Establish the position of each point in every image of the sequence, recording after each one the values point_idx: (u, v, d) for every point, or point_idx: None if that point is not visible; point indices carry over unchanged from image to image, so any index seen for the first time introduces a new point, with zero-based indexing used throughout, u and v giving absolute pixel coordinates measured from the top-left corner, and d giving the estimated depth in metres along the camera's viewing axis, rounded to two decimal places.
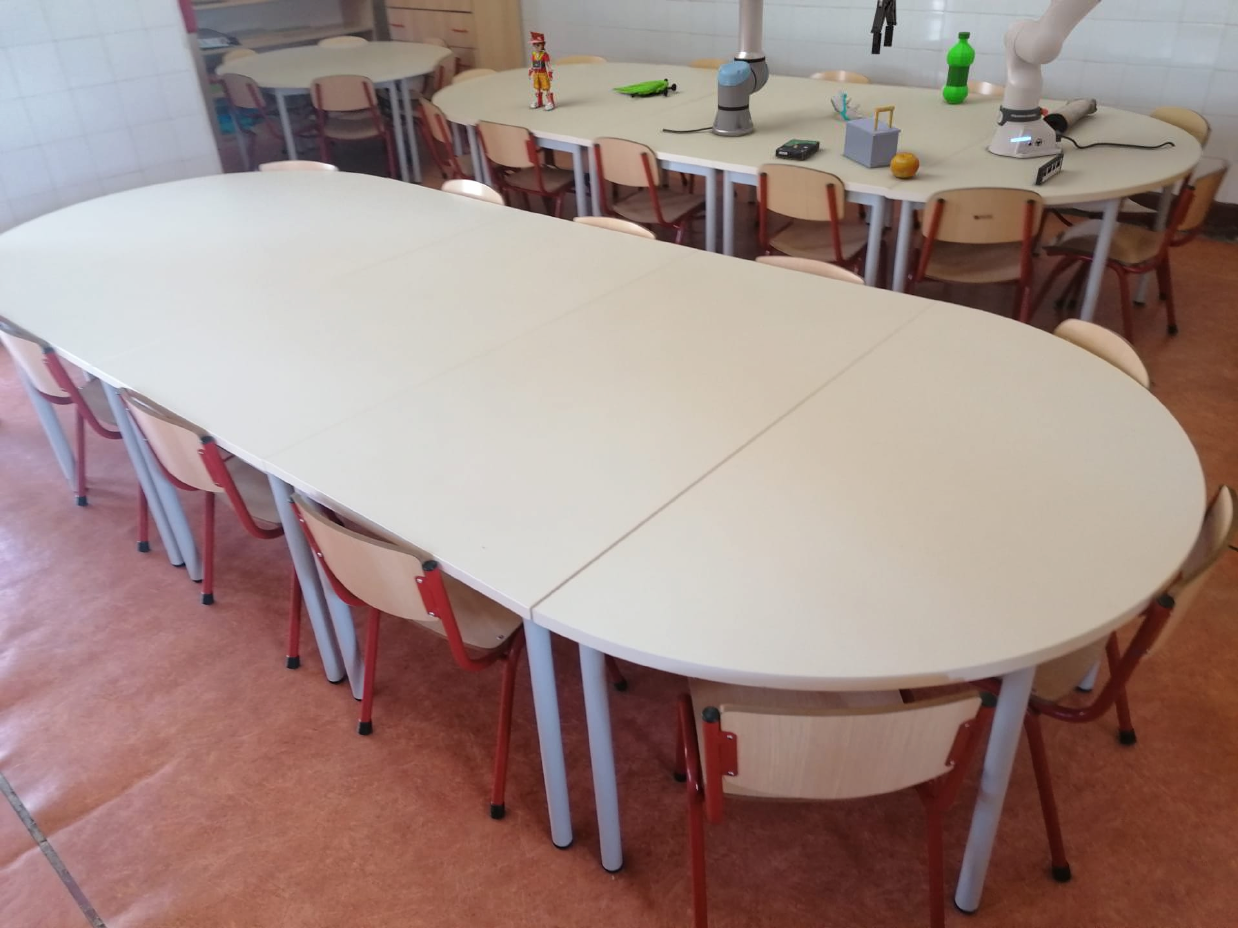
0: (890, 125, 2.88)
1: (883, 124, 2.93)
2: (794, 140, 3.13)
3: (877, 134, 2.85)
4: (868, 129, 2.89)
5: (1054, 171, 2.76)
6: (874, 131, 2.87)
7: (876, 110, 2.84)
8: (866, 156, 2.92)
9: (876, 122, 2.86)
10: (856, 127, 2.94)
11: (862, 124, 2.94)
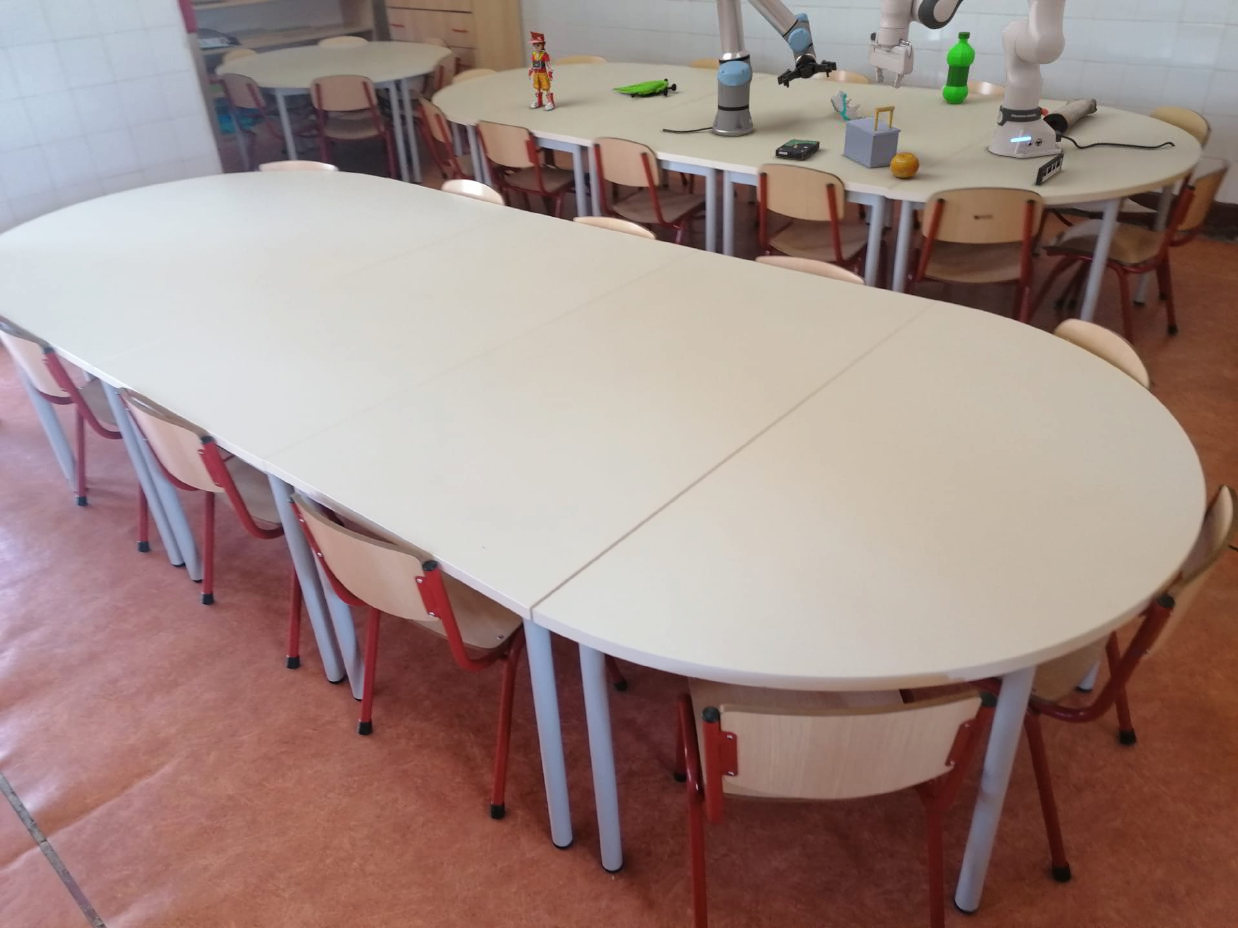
0: (890, 125, 2.88)
1: (883, 124, 2.93)
2: (794, 140, 3.13)
3: (877, 134, 2.85)
4: (868, 129, 2.89)
5: (1054, 171, 2.76)
6: (874, 131, 2.87)
7: (876, 110, 2.84)
8: (866, 156, 2.92)
9: (876, 122, 2.86)
10: (856, 127, 2.94)
11: (862, 124, 2.94)
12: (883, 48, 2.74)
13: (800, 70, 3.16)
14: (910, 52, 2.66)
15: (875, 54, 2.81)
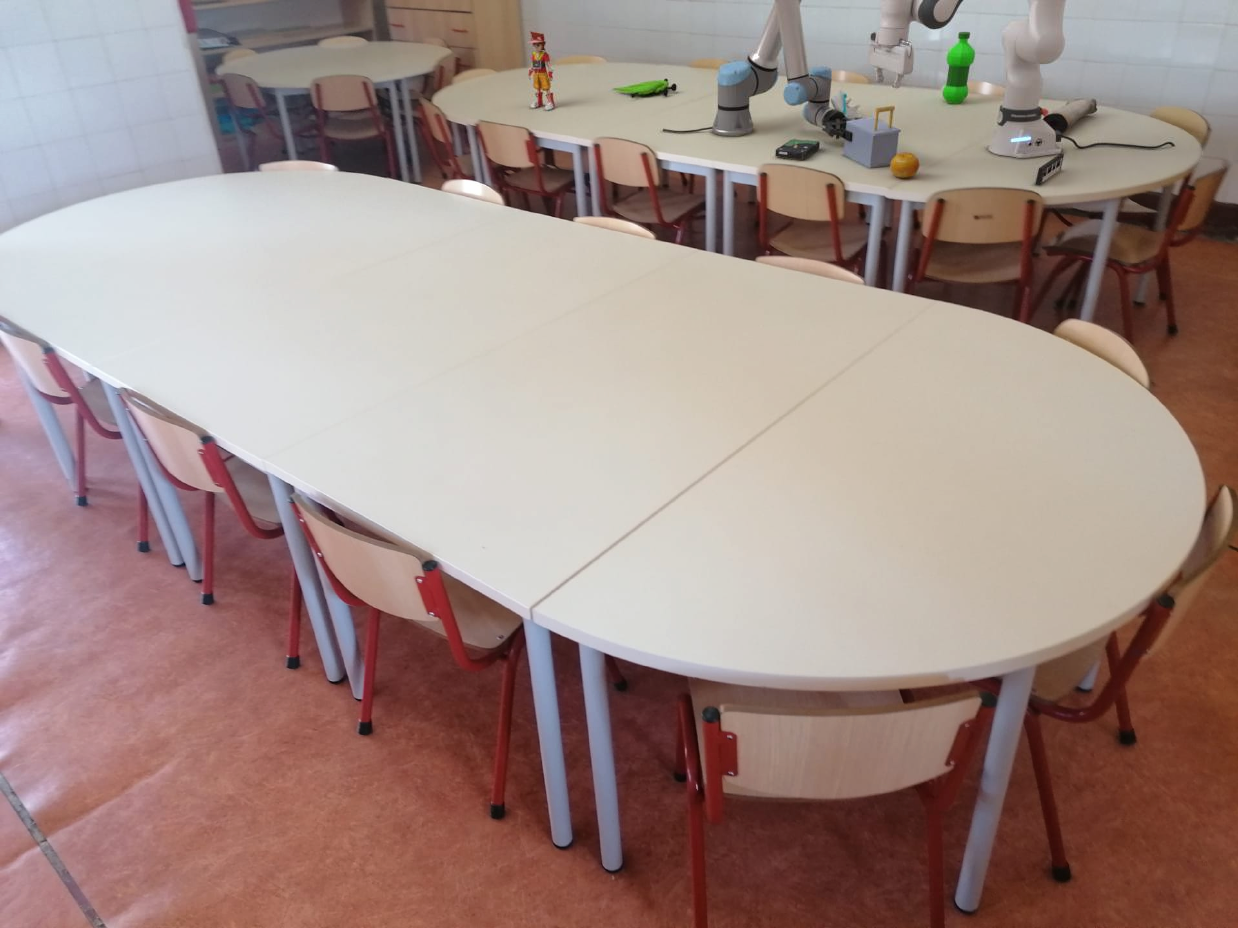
0: (890, 125, 2.88)
1: (883, 124, 2.93)
2: (794, 140, 3.13)
3: (877, 134, 2.85)
4: (868, 129, 2.89)
5: (1054, 171, 2.76)
6: (874, 131, 2.87)
7: (876, 110, 2.84)
8: (866, 156, 2.92)
9: (876, 122, 2.86)
10: (856, 127, 2.94)
11: (862, 124, 2.94)
12: (883, 48, 2.74)
13: None
14: (910, 52, 2.66)
15: (875, 54, 2.81)
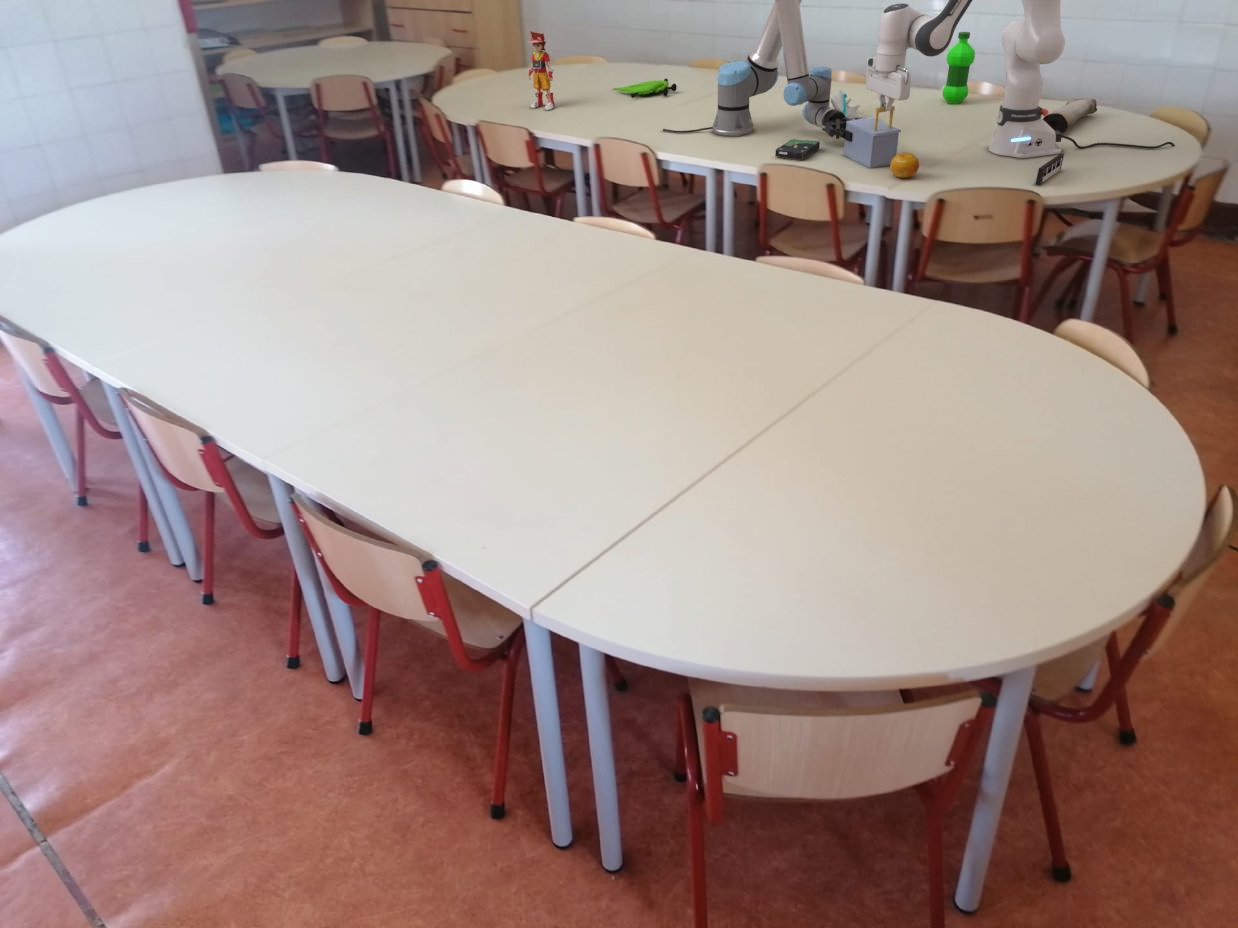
0: (890, 125, 2.88)
1: (883, 124, 2.93)
2: (794, 140, 3.13)
3: (877, 134, 2.85)
4: (868, 129, 2.89)
5: (1054, 171, 2.76)
6: (874, 131, 2.87)
7: (876, 110, 2.84)
8: (866, 156, 2.92)
9: (876, 122, 2.86)
10: (856, 127, 2.94)
11: (862, 124, 2.94)
12: (880, 74, 2.78)
13: None
14: (907, 78, 2.71)
15: (872, 79, 2.85)
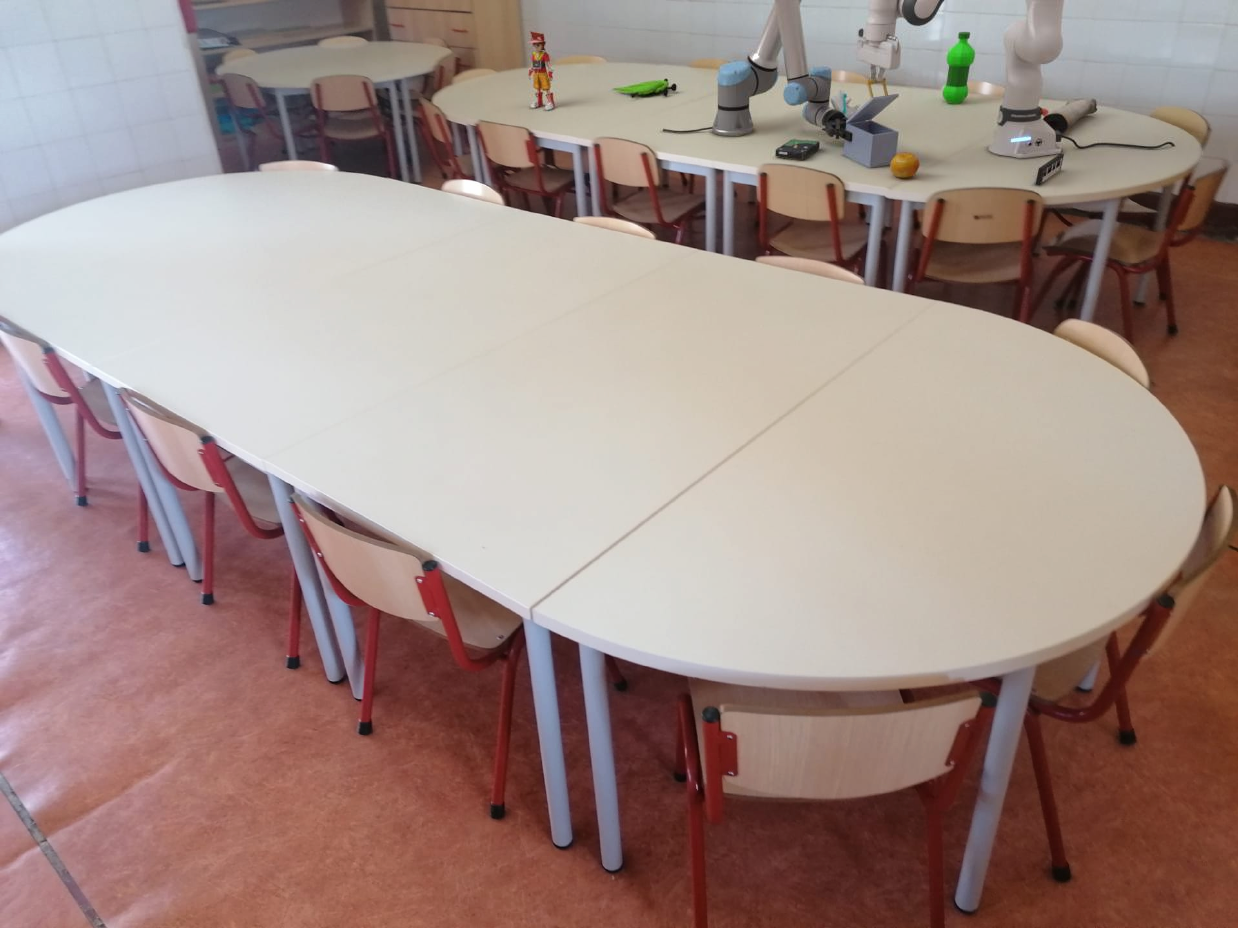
0: None
1: None
2: (794, 140, 3.13)
3: (874, 98, 2.82)
4: None
5: (1054, 171, 2.76)
6: None
7: (867, 82, 2.85)
8: (866, 156, 2.92)
9: (871, 93, 2.85)
10: (855, 114, 2.93)
11: None
12: (871, 44, 2.79)
13: None
14: (897, 47, 2.72)
15: (863, 49, 2.86)
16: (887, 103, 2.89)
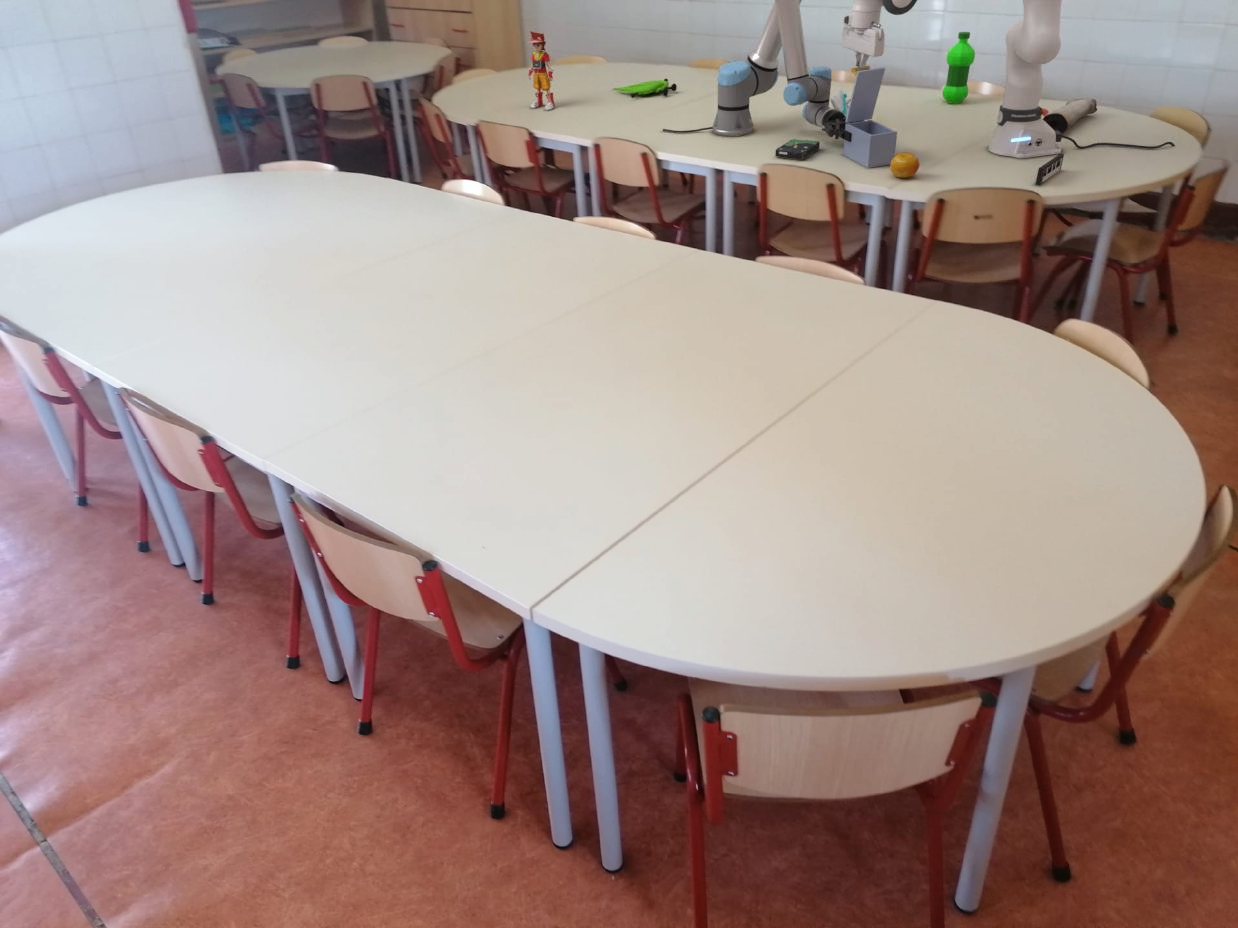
0: None
1: None
2: (794, 140, 3.13)
3: (860, 71, 2.86)
4: None
5: (1054, 171, 2.76)
6: None
7: (851, 70, 2.92)
8: (864, 156, 2.92)
9: None
10: (850, 105, 2.94)
11: None
12: (856, 31, 2.85)
13: (838, 124, 3.09)
14: (881, 35, 2.78)
15: (848, 37, 2.92)
16: (877, 83, 2.91)
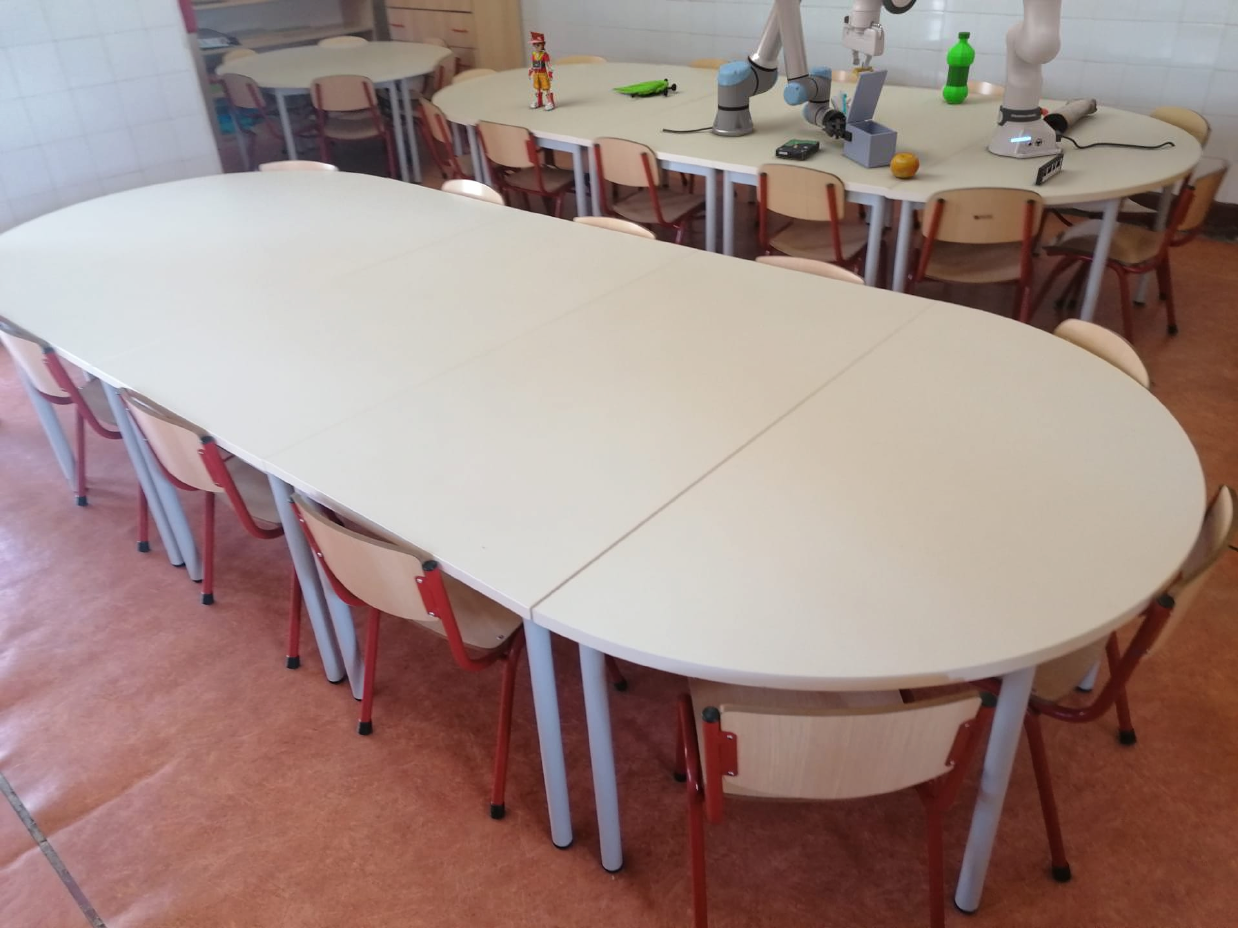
0: None
1: None
2: (794, 140, 3.13)
3: (863, 73, 2.85)
4: None
5: (1054, 171, 2.76)
6: None
7: (853, 70, 2.91)
8: (864, 156, 2.92)
9: None
10: (851, 106, 2.94)
11: None
12: (856, 30, 2.85)
13: (839, 124, 3.09)
14: (881, 34, 2.78)
15: (848, 36, 2.92)
16: (879, 85, 2.90)
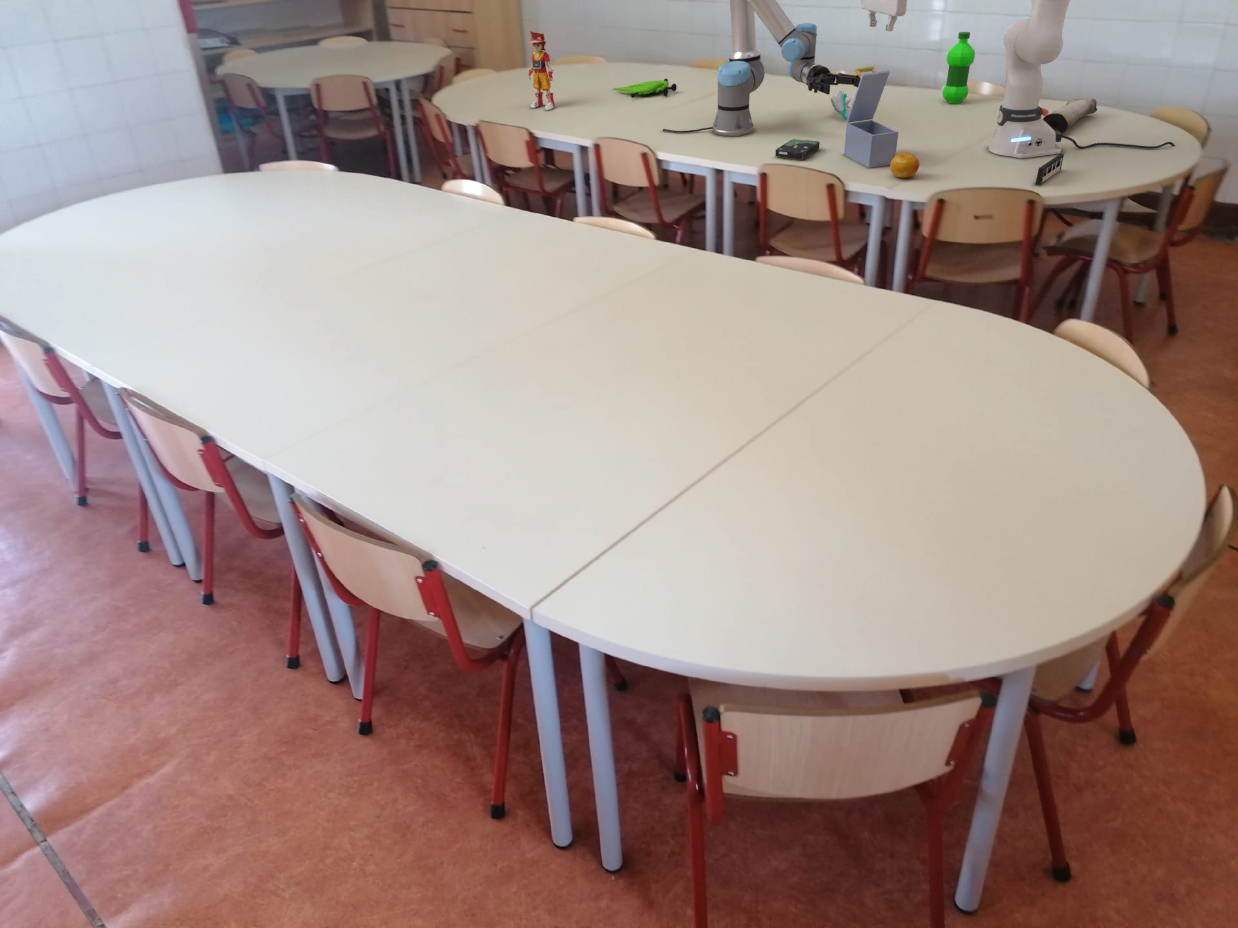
0: None
1: None
2: (794, 140, 3.13)
3: (865, 74, 2.85)
4: None
5: (1054, 171, 2.76)
6: None
7: (855, 70, 2.91)
8: (865, 156, 2.92)
9: (861, 76, 2.89)
10: (852, 106, 2.94)
11: None
12: None
13: (823, 79, 3.12)
14: None
15: None
16: (881, 86, 2.90)
